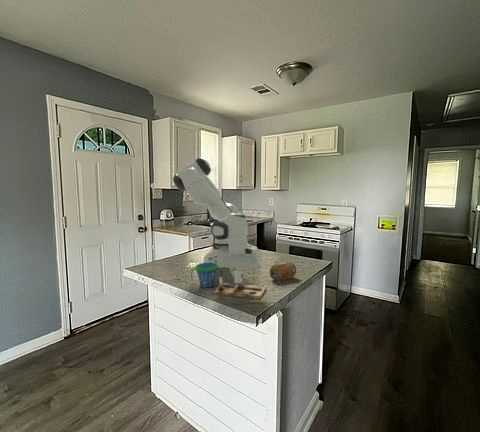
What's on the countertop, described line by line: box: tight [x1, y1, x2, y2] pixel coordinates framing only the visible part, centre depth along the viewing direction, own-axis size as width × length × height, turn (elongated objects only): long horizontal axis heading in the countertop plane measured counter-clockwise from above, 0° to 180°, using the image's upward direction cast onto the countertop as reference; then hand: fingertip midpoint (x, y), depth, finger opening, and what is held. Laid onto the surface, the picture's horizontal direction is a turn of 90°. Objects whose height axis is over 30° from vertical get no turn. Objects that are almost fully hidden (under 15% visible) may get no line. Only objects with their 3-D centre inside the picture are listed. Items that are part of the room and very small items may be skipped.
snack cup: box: [190, 262, 224, 288], centre depth 132 cm, size 16×10×10 cm
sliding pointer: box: [232, 268, 245, 291], centre depth 123 cm, size 4×7×8 cm, turn 162°
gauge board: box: [212, 281, 267, 300], centre depth 124 cm, size 22×12×2 cm, turn 72°
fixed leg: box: [218, 276, 224, 290], centre depth 123 cm, size 2×2×6 cm
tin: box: [269, 262, 297, 282], centre depth 140 cm, size 15×3×8 cm, turn 114°
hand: (238, 277), depth 124 cm, fingers closed on sliding pointer, 3 cm apart
